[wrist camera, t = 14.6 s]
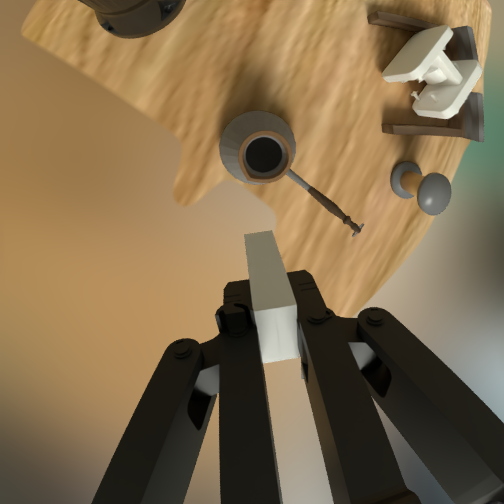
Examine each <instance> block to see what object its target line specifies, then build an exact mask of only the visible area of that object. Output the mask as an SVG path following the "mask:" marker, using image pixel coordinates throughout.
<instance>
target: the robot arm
mask: <svg viewBox="0 0 504 504" xmlns="http://www.w3.org/2000/svg"><path fill="white" fill-rule="evenodd" d="M78 1H80V2H82V3H84V4H85V5H87V6H89V7H90V8H92V9H94V10H95V14H96V17H97V20H98V22H99V24H100V25H101V26H102V28H104V29H105V30H106V31H107V32H109V33H111V34H113V35H115V36H117V37H120V38H129V39H130V38H140V37H144V36H147V35H150V34H153V33H155V32H157V31H159V30H161V29H162V28H164V27H165V26H167V25H168V24H169V23H170V22H171V21H173V20H174V19H175V18H176V16H177V15H178V14H179V13H180V11H181V10H182V8H183V6H184V4H185V1H186V0H78ZM244 237H245V246H246V255H247V263H248V272H249V279H248V280H241V281H234V282H229V283H228V284H227V285H226V287H225V288H224V299H223V303H224V304H223V306H221V307H220V308H219V309H218V310H217V311H216V314H215V318H216V321H217V325H218V328H219V332H220V333H219V334H218V335H217V336H216V337H215V338H213V339H211V340H209V341H207V342H204V343H201V344H199V343H198V342H197V341H196V340H194V339H189V338H186V339H179V340H176V341H174V342H173V343H171V344H170V345H169V346H168V347H167V349H166V350H165V352H164V354H163V356H162V358H161V360H160V362H159V364H158V366H157V368H156V370H155V372H154V373H153V375H152V378H151V379H150V382H149V383H148V385H147V388H146V389H145V391H144V393H143V395H142V397H141V399H140V401H139V403H138V405H137V407H136V409H135V411H134V413H133V416H132V418H131V420H130V422H129V424H128V426H127V428H126V430H125V432H124V434H123V436H122V438H121V440H120V443H119V445H118V447H117V449H116V451H115V453H114V455H113V457H112V459H111V462H110V464H109V466H108V468H107V470H106V472H105V475H104V477H103V479H102V481H101V483H100V486H99V488H98V490H97V492H96V494H95V497H94V499H93V501H92V503H91V504H183V502H184V499H185V496H186V493H187V490H188V487H189V484H190V480H191V477H192V474H193V471H194V468H195V465H196V461H197V458H198V455H199V452H200V449H201V445H202V442H203V439H204V436H205V433H206V430H207V426H208V423H209V420H210V416H211V413H212V410H213V407H214V404H215V400H216V397H217V393H219V450H220V452H219V453H220V494H221V504H283V501H282V494H281V487H280V480H279V473H278V466H277V459H276V452H275V446H274V438H273V431H272V424H271V417H270V410H269V402H268V395H267V388H266V381H265V374H264V368H263V363H269V362H275V361H281V360H287V359H293V358H298V357H299V353H300V357H301V371H302V379H304V380H305V384H306V388H307V392H308V395H309V400H310V404H311V408H312V412H313V416H314V420H315V424H316V429H317V432H318V437H319V441H320V445H321V450H322V454H323V458H324V462H325V467H326V471H327V475H328V480H329V484H330V488H331V493H332V497H333V501H334V504H421V502H420V500H419V498H418V496H417V495H416V494H415V493H414V492H412V491H410V490H409V489H407V487H406V485H405V483H404V480H403V478H402V475H401V472H400V469H399V466H398V463H397V461H396V458H395V455H394V453H393V450H392V447H391V445H390V442H389V440H388V437H387V434H386V432H385V429H384V427H383V424H382V421H381V419H380V416H379V414H378V412H377V409H376V407H375V405H374V402H373V399H374V400H375V401H376V402H377V404H378V405H379V406H380V408H381V409H382V410H383V411H384V413H385V414H386V415H387V416H388V418H389V419H390V420H391V422H392V423H393V424H394V426H395V427H396V428H397V429H398V431H399V432H400V433H401V434H402V436H403V437H404V439H405V440H406V441H407V442H408V444H409V445H410V446H411V448H412V449H413V450H414V451H415V453H416V454H417V455H418V456H419V458H420V459H421V460H422V462H423V463H424V464H425V466H426V467H427V468H428V470H429V471H430V472H431V474H432V475H433V476H434V477H435V479H436V480H437V481H438V483H439V484H440V485H441V487H442V488H443V489H444V490H445V492H446V493H447V494H448V496H449V497H450V498H451V500H452V501H453V502H454V503H455V504H504V423H503V422H502V421H501V420H500V419H499V418H498V417H497V416H496V415H495V414H494V413H493V412H492V410H491V409H490V408H489V407H488V406H487V405H486V404H485V403H484V402H483V401H482V400H481V399H480V398H479V397H478V396H477V395H476V394H475V393H474V392H473V391H472V390H471V389H470V388H469V387H468V386H467V385H466V384H465V383H464V382H463V381H462V380H461V379H460V378H459V377H458V376H457V375H456V374H455V373H453V371H452V370H451V369H450V368H448V367H447V365H445V364H444V363H443V362H442V361H441V360H440V359H439V358H438V357H437V356H436V355H435V354H434V353H433V352H432V351H431V350H430V349H429V348H428V347H426V346H425V345H424V344H423V343H422V342H421V341H420V340H419V339H418V338H417V337H416V336H415V335H414V334H412V333H411V332H410V331H409V330H408V329H407V328H406V327H405V326H404V325H403V324H402V323H400V322H399V321H398V320H397V319H396V318H395V317H394V316H393V315H392V314H390V313H389V312H388V311H386V310H385V309H382V308H378V307H370V308H367V309H364V310H363V311H361V312H360V313H359V315H358V318H344V317H339V316H336V315H335V313H334V312H333V311H332V310H331V309H329V308H327V307H326V305H325V302H324V300H323V298H322V296H321V294H320V291H319V289H318V288H317V285H316V283H315V281H314V279H313V276H312V275H311V274H310V273H308V272H307V271H306V270H301V271H294V272H288V273H286V270H285V267H284V264H283V261H282V258H281V255H280V253H279V250H278V247H277V244H276V241H275V238H274V235H273V232H272V231H265V232H258V233H252V234H245V235H244ZM371 396H372V397H373V399H372V397H371Z"/></svg>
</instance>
